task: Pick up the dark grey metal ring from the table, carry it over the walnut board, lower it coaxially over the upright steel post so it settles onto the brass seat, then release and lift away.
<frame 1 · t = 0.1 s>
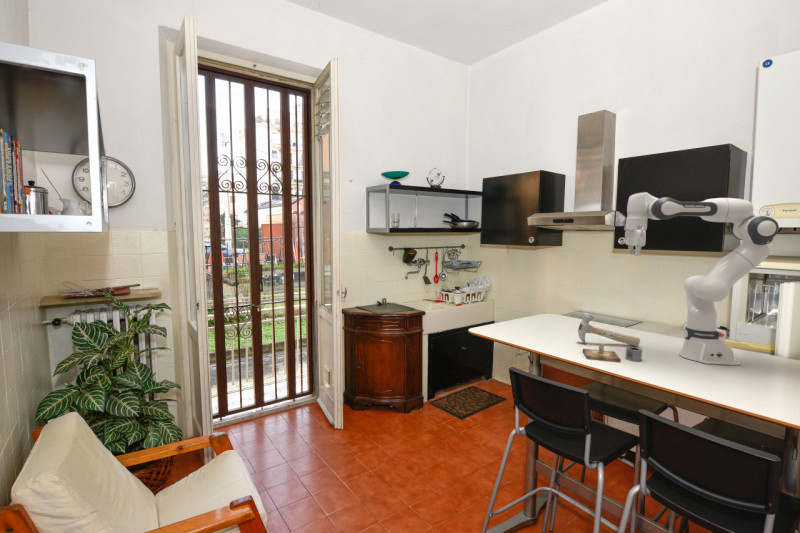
hand: (633, 255, 197), 48 cm above the table, tool pointing down, fingers open, 8 cm apart
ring: (633, 359, 189), on the table
hammer: (607, 345, 213), on the table
post board: (600, 356, 192), on the table
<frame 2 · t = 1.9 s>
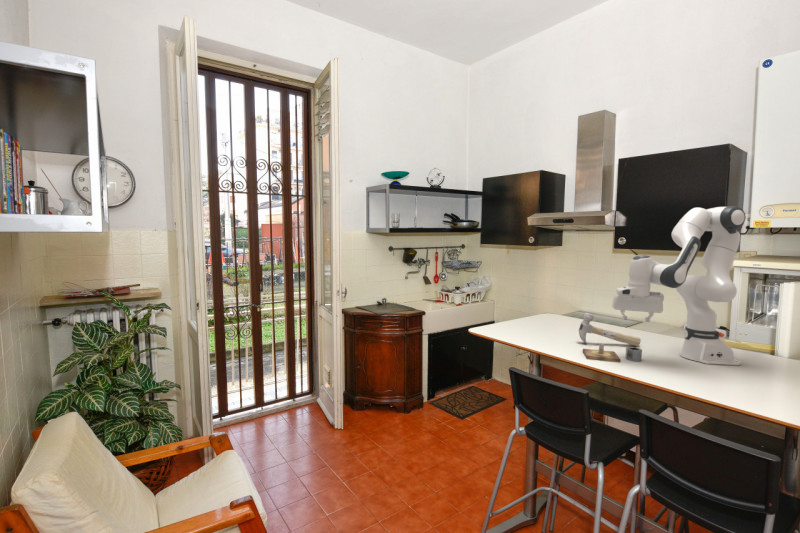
hand: (636, 320, 187), 18 cm above the table, tool pointing down, fingers open, 8 cm apart
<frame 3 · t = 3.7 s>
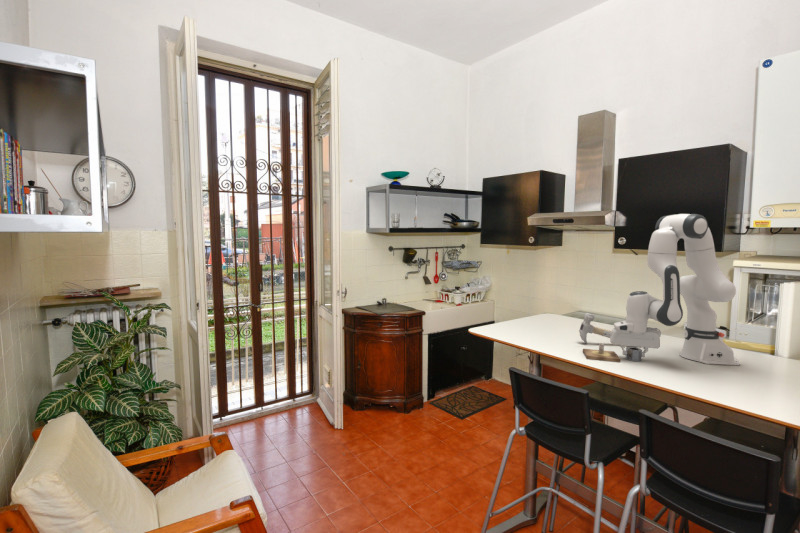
hand: (633, 355, 189), 2 cm above the table, tool pointing down, fingers closed on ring, 6 cm apart
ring: (633, 359, 189), on the table, touching gripper
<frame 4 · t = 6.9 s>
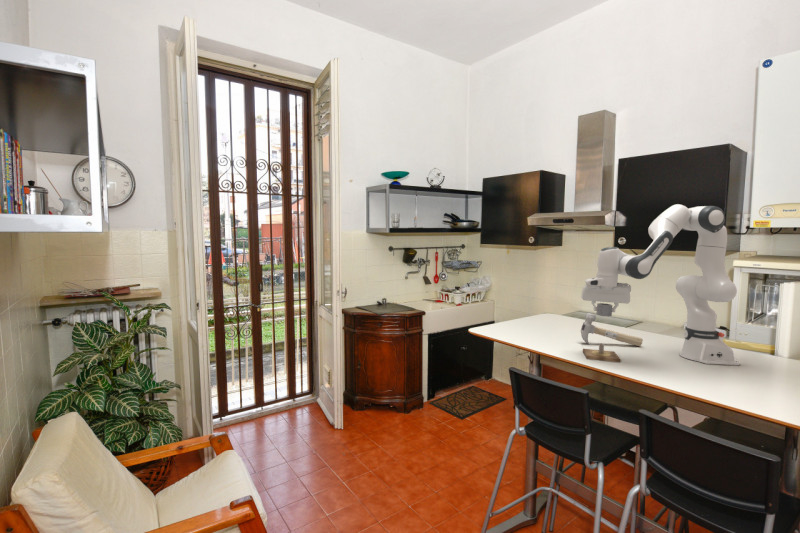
hand: (604, 311, 190), 22 cm above the table, tool pointing down, fingers closed on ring, 6 cm apart
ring: (603, 314, 190), point 20 cm above the table, touching gripper
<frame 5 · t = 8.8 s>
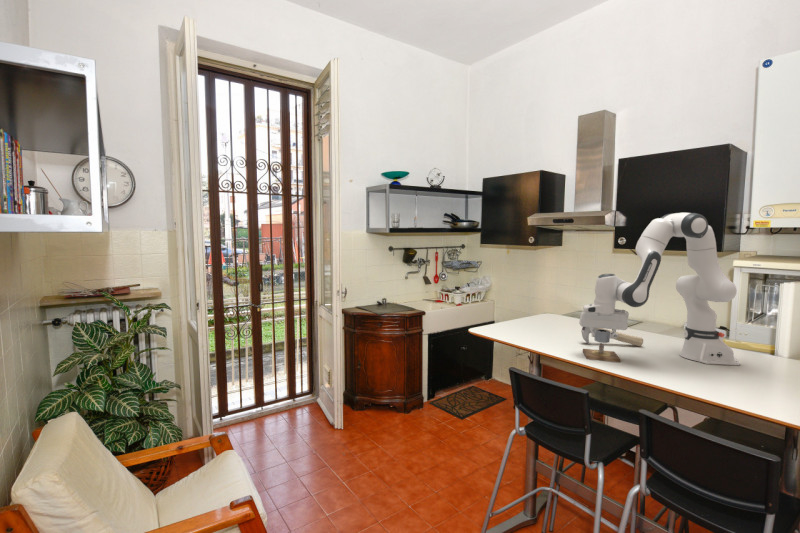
hand: (602, 337, 191), 9 cm above the table, tool pointing down, fingers closed on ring, 6 cm apart
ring: (601, 341, 191), point 8 cm above the table, touching gripper
when the fingers open (4 cm above the table, at t = 10.3 s): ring stays where it is, resting on post board.
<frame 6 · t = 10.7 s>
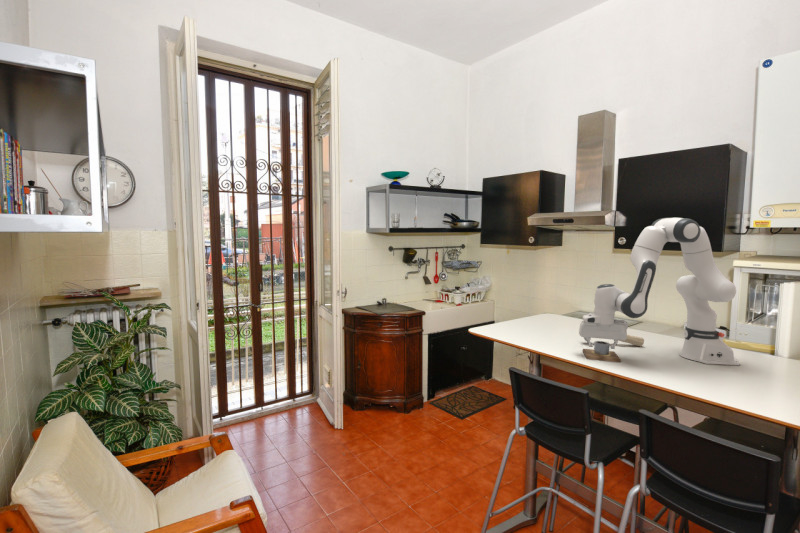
hand: (601, 347, 191), 4 cm above the table, tool pointing down, fingers open, 8 cm apart
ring: (601, 353, 192), point 2 cm above the table, touching post board
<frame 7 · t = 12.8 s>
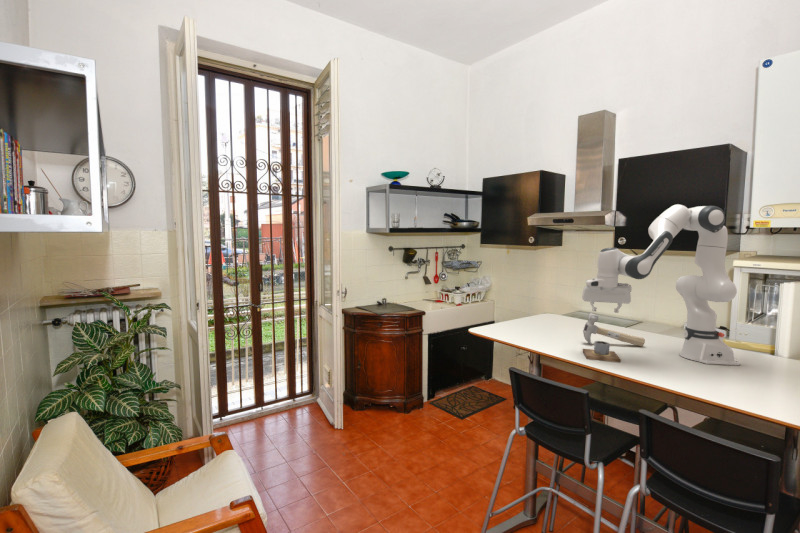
hand: (605, 311, 191), 21 cm above the table, tool pointing down, fingers open, 8 cm apart
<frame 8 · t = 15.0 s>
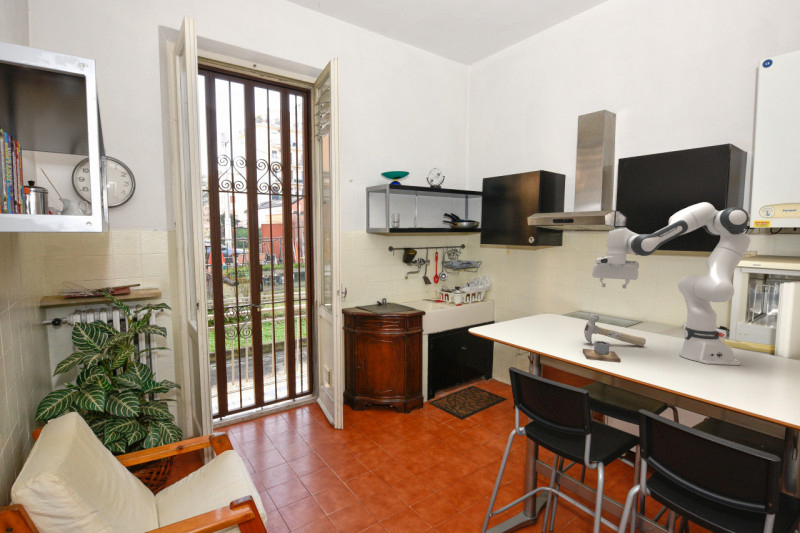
hand: (613, 287, 202), 31 cm above the table, tool pointing down, fingers open, 8 cm apart
at the end: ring 0.1 cm off-centre on the post board, point 1.7 cm above the post board's base; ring tilted 0°; the gripper is holding nothing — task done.
